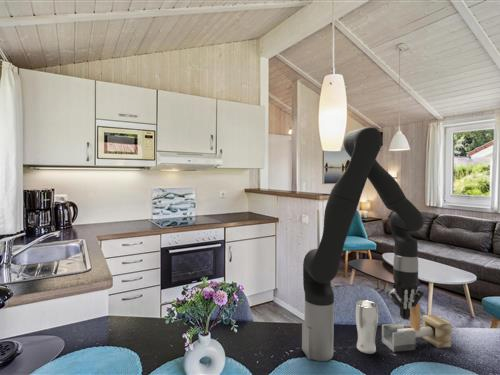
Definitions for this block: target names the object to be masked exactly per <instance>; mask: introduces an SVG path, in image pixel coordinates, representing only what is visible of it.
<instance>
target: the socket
mask: <svg viewBox="0 0 500 375" xmlns="http://www.w3.org/2000/svg"><path fill="white" fill-rule="evenodd" d="M427 326H429V327H431V328H432V329H433V332H434V334H433V336H425V337H421V338H422V339H423V340H425V341H427V342H428V343H430V344H432V345H433V346H434V347H436V348H438V349H440V348H441V349H442V348H451V347H452V322H450V321H448V320H445V319H444V318H442V317H440V316H438V315H437V314H435V313H434V314H423V315H422V324H421V327H427Z"/></svg>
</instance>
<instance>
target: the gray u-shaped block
mask: <svg viewBox="0 0 500 375" xmlns="http://www.w3.org/2000/svg"><path fill="white" fill-rule="evenodd" d="M404 328H405V323H403V322H397V323H385V324H381V342H382V343H383V344H384V345H385V346H386V347H387V348H389V350H391V351H392V352H394V353H395V352H405V351H415V350H416V338H417V337H416V332H415V331H402V332H397V329H404Z"/></svg>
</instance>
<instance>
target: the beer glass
mask: <svg viewBox="0 0 500 375" xmlns="http://www.w3.org/2000/svg"><path fill="white" fill-rule="evenodd" d="M355 324H356V330H357V342H356V349H357V350H358V351H360V352H361V353H364V354H367V355H368V354H370V355H371V354H375V353H376V352H377V349H376V335H377V334H376V333H377V330H378V324H379V310H378V304H377V303H376V302H374V301H369V300H366V299H365V300H364V299H362V300H357V301H356V306H355Z"/></svg>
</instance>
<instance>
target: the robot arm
mask: <svg viewBox="0 0 500 375" xmlns="http://www.w3.org/2000/svg"><path fill="white" fill-rule="evenodd" d="M382 143H383V137H382V134H381V132H380V130H379V129H378V128H377V127H373V126H365V127H362V128H357V129H355V130H351V131H349V132H347V134H346V135H345V136H344V139H343V148H344V150H345V152H346V154H348V156H349V157H350V160H349V163H348V165H347V167H346V169H345V171H344V172H343V173H342V174H341V175H340V177H339V179H338V180H337V181H336V183H335V184H334V186H333V187H332V189H331V191H330V193H329V196H328V199H327V202H326V204H325V208H324V215H323V228H322V230H323V231H322V236H321V239H320V242H319V245H318V247H317V248H313V249H311V250H309V251H307V253H306V254H305V256H304V258H303V264H302V280H303V281H302V286H303V291H304V320H302V321H301V322H302V323H301V350H302V351H303V352H302V353H304V354H305V356H306V358H307V359H308V360H313V361H316V362H327V361H330V360H331V359H333V358H334V330H335V329H334V325H335V324H334V323H335V320H334V319H335V312H334V311H335V293H334V291H333V287H332V283H331V282H332V281H333V280H334V279H335V277H336V276H337V274H338V272H339V268H340V264H341V258H342V255H343V250H344V246H345V243H346V240H347V237H348V234H349V232H350V230H351V229H350V228H351V226H352V223H353V221H354V218H355V215H356V212H357V209H358V206H359V204H360V200H361V197H362V193H363V191H364V188H365V185H366V183H367V179H368V181H369V182H370V183H371V185H372V186H373V188H374V189H375V191H376V193H377V194H378V196H379V198H380V200H381V201H382V203H383V205H384V206H385V208H386V209H388V210H390V211H392V213H391V215H390V219H389V225H390V230H391V235H392V237H393V242H394V256H393V270H392V271H393V274H392V275H393V276H392V277H393V278H392V280H393V282H394V283H393V286H392V289H391V290H388V291H387V292H386V294H387V295H388V298H390V299H391V301H392V302H393V304H394V305H395V306H397V307H398V308H399V316H400V317H401V318H402V319H403V320H410V309H411V307H412V306H414V307H415V306H416V305H417V304H419V301H420V300H421V299H422V298H423V296H424V291H422V290H420V289H419V288H418V287H419V286H418V284H419V258H418V256H419V255H418V254H419V253H418V249H419V248H418V246H419V245H418V241H417V240H416V239H415V238H414V237H412V236H411V235H410V233H411V232H412V233H417V232H419V231H420V230H422V228H423V226H424V218H423V215H422V213H421V212H420V210H419V209H418V208H417V207H416V206H415V205H414V204H413V203H412V202H411V201H410V200H409V199H408V198H407V197H406V195H405V193H404V191H403V189H402V188H401V186H400V184H399V182H397V180H396V179H395V178H394V177H393V176H392V174H390V173H389V171H387V170H386V169H385V168H384V167H383V166H382V165H381V164H380V163H379V162H378V161H377V157H378V155H379V153H380V151H381V148H382Z"/></svg>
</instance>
